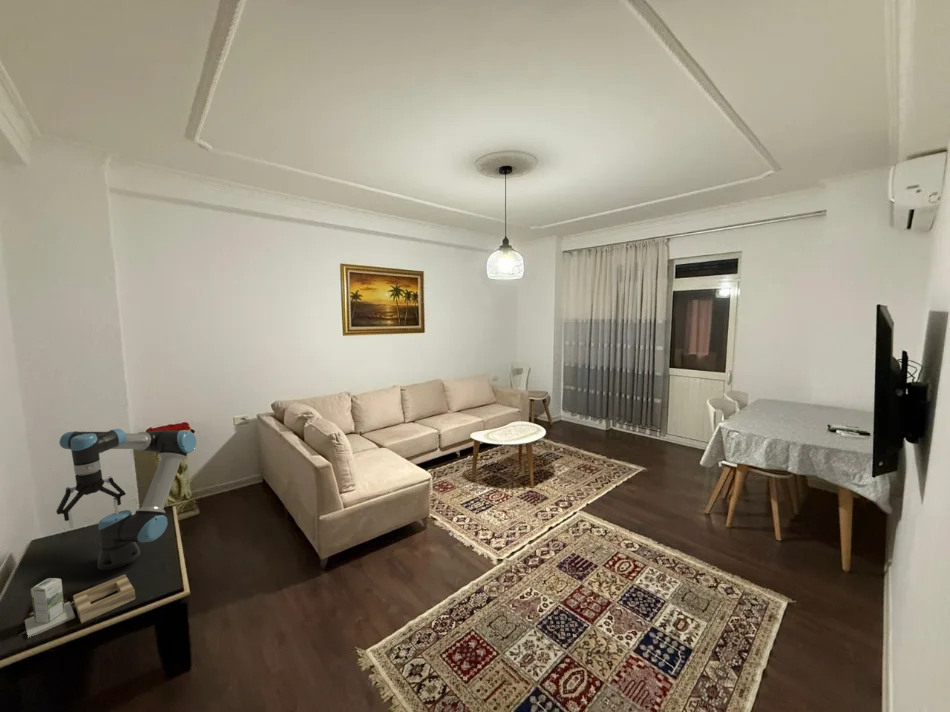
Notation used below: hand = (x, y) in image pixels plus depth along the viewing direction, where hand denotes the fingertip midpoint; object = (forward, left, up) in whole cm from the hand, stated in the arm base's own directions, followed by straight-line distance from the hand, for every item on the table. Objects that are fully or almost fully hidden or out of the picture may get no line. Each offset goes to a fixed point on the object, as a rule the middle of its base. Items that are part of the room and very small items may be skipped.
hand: (95, 519), depth 158 cm
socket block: (+7, -1, -33) cm, 34 cm away
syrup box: (+3, -15, -33) cm, 36 cm away
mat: (+3, -16, -33) cm, 37 cm away
